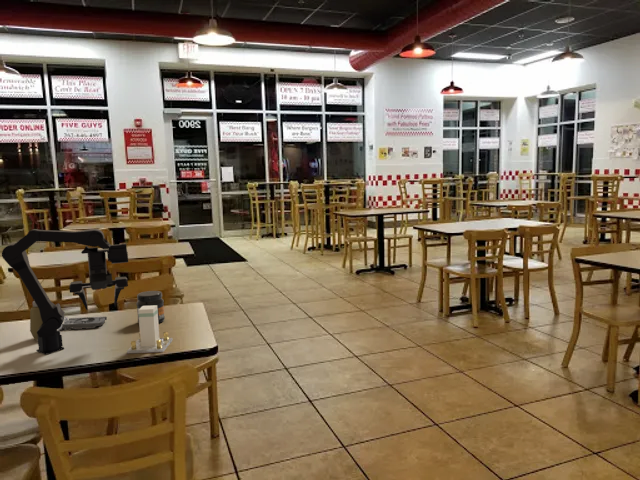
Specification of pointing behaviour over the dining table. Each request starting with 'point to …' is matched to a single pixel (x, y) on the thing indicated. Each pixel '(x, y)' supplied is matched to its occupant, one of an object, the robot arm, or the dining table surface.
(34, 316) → the squeeze bottle
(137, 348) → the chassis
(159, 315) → the supplement container
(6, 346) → the dining table surface
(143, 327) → the block
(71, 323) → the graphics card
